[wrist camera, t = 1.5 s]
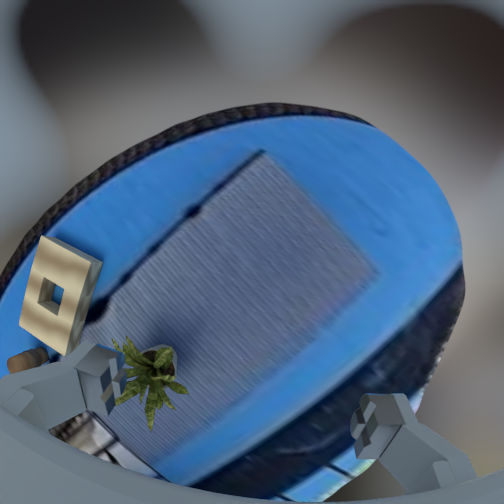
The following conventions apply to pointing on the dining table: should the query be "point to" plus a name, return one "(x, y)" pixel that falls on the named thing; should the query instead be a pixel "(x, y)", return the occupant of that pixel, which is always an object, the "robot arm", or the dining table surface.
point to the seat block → (74, 297)
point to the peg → (27, 360)
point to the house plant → (150, 376)
